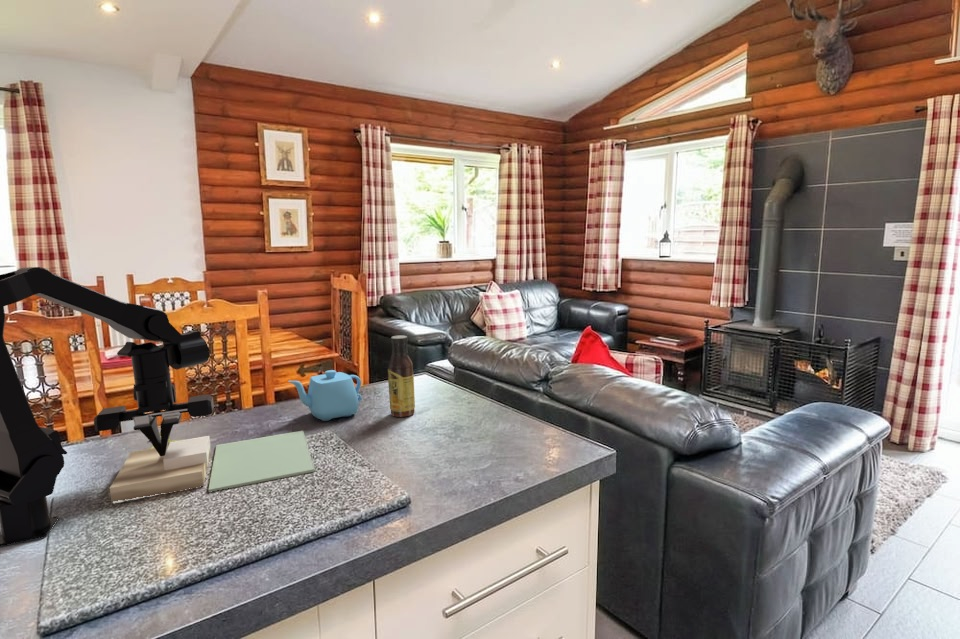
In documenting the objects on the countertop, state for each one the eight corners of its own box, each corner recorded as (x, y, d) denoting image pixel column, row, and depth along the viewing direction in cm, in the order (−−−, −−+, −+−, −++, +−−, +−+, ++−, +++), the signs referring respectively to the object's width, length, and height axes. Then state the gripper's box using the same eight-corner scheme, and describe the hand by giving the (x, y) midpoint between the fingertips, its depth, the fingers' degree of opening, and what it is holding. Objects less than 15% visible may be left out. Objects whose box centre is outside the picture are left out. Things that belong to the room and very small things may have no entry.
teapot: (286, 416, 135) (282, 373, 133) (355, 403, 144) (351, 362, 142) (297, 430, 124) (293, 382, 123) (371, 414, 133) (367, 370, 132)
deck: (203, 486, 96) (201, 471, 95) (112, 504, 90) (109, 488, 90) (210, 452, 112) (209, 439, 112) (133, 466, 107) (131, 451, 106)
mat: (314, 471, 100) (314, 469, 100) (208, 492, 93) (208, 489, 93) (303, 432, 122) (303, 430, 122) (216, 447, 115) (216, 445, 115)
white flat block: (207, 462, 99) (206, 452, 99) (164, 470, 96) (163, 459, 96) (210, 445, 108) (209, 435, 108) (171, 451, 105) (170, 442, 105)
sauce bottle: (387, 413, 134) (382, 335, 131) (411, 408, 137) (406, 333, 134) (394, 420, 128) (389, 339, 125) (419, 415, 131) (414, 336, 128)
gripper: (210, 361, 109) (219, 433, 112) (103, 373, 102) (114, 450, 104) (207, 372, 99) (216, 451, 102) (87, 386, 92) (100, 471, 94)
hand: (163, 455), depth 101 cm, fingers closed
